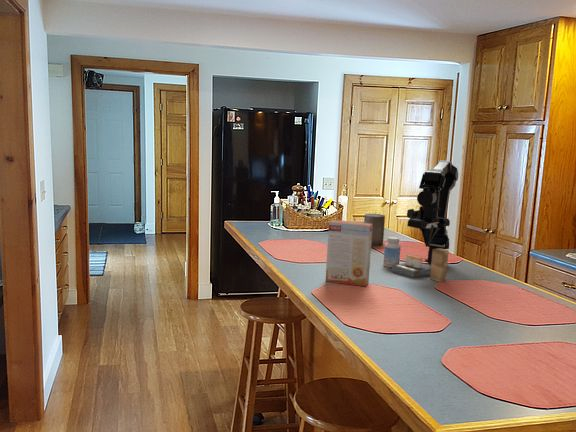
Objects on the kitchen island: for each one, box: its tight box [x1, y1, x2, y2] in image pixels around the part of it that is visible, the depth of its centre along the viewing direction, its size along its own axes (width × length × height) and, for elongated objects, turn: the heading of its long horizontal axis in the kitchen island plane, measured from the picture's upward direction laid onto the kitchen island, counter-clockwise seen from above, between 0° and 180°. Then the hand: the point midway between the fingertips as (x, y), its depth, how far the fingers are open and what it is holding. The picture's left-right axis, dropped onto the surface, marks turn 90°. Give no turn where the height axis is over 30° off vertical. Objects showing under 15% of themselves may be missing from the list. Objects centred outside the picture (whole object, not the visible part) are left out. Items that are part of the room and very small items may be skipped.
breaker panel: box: [391, 262, 431, 279], centre depth 197 cm, size 12×10×3 cm
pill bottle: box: [382, 236, 401, 268], centre depth 206 cm, size 6×6×11 cm
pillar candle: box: [363, 212, 386, 246], centre depth 249 cm, size 10×10×15 cm
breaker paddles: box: [404, 254, 424, 268], centre depth 196 cm, size 2×7×4 cm, turn 38°
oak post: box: [429, 248, 450, 282], centre depth 189 cm, size 4×4×11 cm
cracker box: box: [325, 219, 373, 287], centre depth 178 cm, size 14×6×21 cm, turn 71°
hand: (426, 244), depth 200 cm, fingers closed
